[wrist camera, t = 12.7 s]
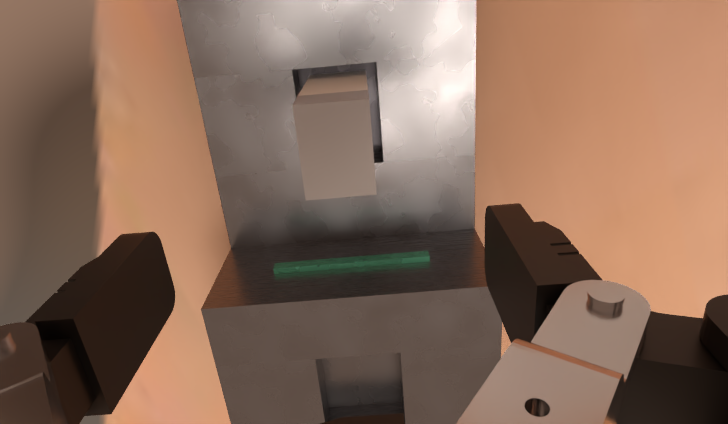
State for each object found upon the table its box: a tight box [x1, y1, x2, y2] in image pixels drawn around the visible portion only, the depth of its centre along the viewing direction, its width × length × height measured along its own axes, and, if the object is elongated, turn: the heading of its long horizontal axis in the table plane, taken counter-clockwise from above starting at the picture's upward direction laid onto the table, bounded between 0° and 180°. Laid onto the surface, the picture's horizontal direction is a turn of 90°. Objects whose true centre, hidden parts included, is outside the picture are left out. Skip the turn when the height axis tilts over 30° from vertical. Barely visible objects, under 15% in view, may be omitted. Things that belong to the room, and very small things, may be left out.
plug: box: [292, 70, 377, 200], centre depth 23 cm, size 4×3×8 cm
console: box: [177, 0, 502, 424], centre depth 26 cm, size 26×14×9 cm, turn 5°
